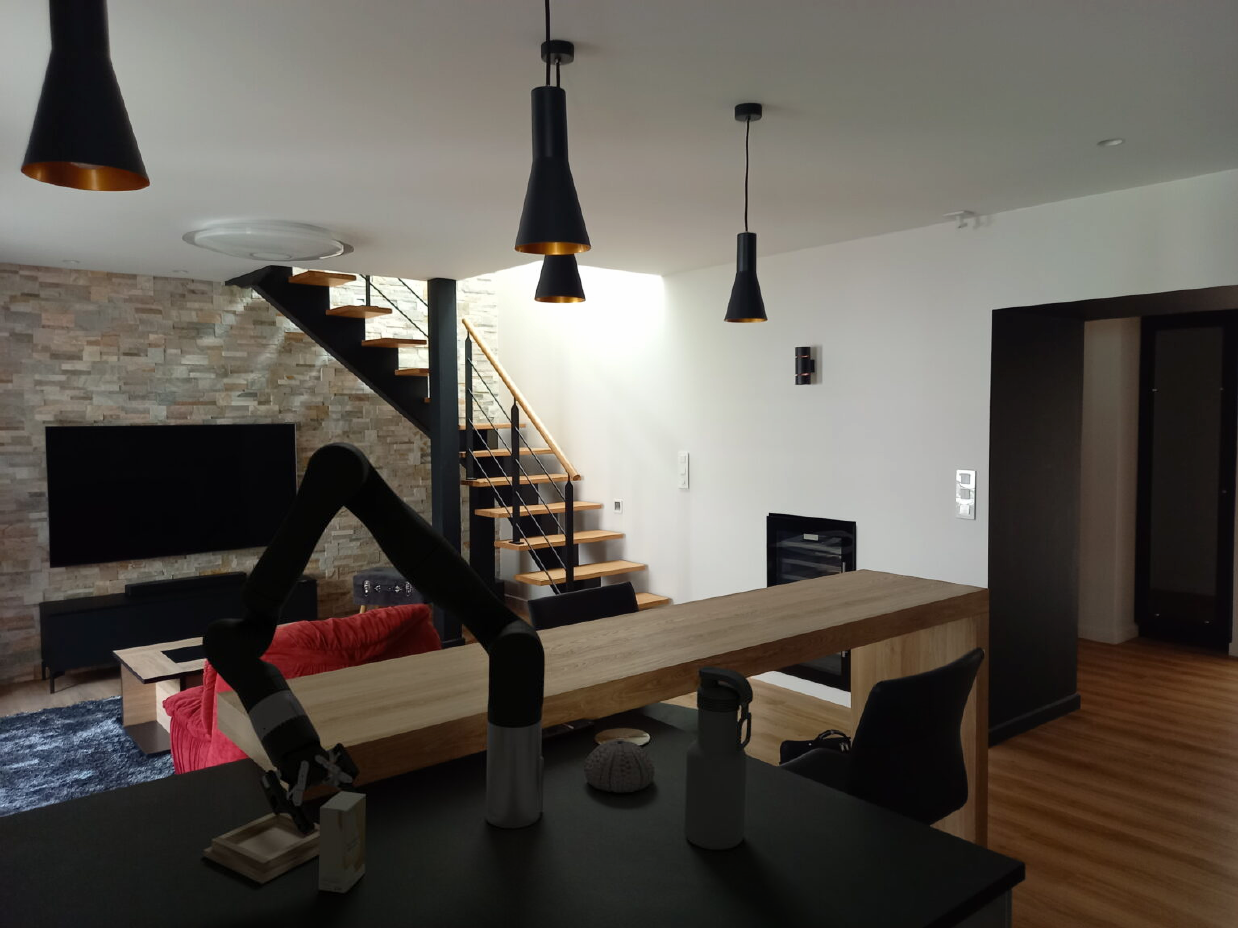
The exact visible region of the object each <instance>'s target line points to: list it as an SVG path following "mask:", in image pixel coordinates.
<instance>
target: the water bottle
mask: <svg viewBox="0 0 1238 928" xmlns="http://www.w3.org/2000/svg"><path fill="white" fill-rule="evenodd" d="M698 677H699V678H700V683H699V686H698V687H697V689H696V708H697V734H696V735H697V736H696V740H694V741H693V742H692V743H690V745H689V746H688V748H687V751H686V766H685V767H686V768H685V771H686V772H685V773H686V774H685V798H684V799H685V800H684V801H685V802H684V803H685V804H684V835H685V837H686V839H687V840H688V841H689V842H690V843H692V844H693V845H695V846H697V847H699V848H702V849H705V850H706V849H707V850H710V851H711V850H712V851H725V850H729V849H733V848H735V847H737V846H738V845H740V844H741V843H742V841H743V839H744V837H745V835H744V833H745V808H746V807H745V805H746V781H747V753H746V751H745V748H746V747H747V745H749V743H750V741H751V738H752V737H751V736H752V719H753V718H752V716H753V714H752V712H750V710H749V709H750V704H751V703H752V702H753V700H754V691H753V688H752V685H751V683H750V682H749V680H748V679H747V678H746V676H744V675H743V673H740V672H738V671H735V670H732V669H728V668H724V667H723V668H722V667H716V666H709V665H708V666H701V667H699V669H698ZM739 711H740V718H739ZM745 722H746V733H745V734H746V735H745V739H744V740H743V741H742V735H743V734H742V731H743V725H744V723H745Z"/></svg>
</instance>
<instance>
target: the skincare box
mask: <svg viewBox="0 0 1238 928" xmlns="http://www.w3.org/2000/svg"><path fill="white" fill-rule="evenodd" d="M366 795H367V794H365V793H358V792H357V793H352V792H344V791H339V792H337V794H335V795H334V796H332V797H331V798H330V799H329V800H328V801H327V802H326V803H324V804H322V806H320V808H319V825H320V841H319V856H318V860H319V861H318V863H319V864H318V890H319V891H320V890H321V891H326V892H332V893H334V892H335V893H341V894H345V893H347V892H348V891H349V890H350V889H351V888H352V887H353V886H354V885H355V884H356V883H357V882H358V881H359V880H360V878H362V876H364V874H365V872H366V815H367V814H366V808H367V807H366V805H367V803H366V802H367V801H366V800H367V798H366V797H367V796H366Z"/></svg>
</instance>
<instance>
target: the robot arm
mask: <svg viewBox="0 0 1238 928" xmlns="http://www.w3.org/2000/svg"><path fill="white" fill-rule="evenodd" d="M343 507H344V508H345V509H346V510H348V511H349V512H350V513H351V514H352V515H353V516H354V517H355V518H356V519H358V520H359V522H360V523H362V524H363V525H364V527H366V529H367V530H368V531H369V533H370V534H371V536H372V538H373V539H374V540H375V542H376V544H377V546H378V547H379V548H380V550H381V551H382V552H383V554H384V556H385V557H386V558H387V560H388V561H389V562H390V564H391V565H392V566H393V568H394V569H395V570H396V571H397V572H398V573H399V575H400V576H402V577H403V578H404V579H405V580H406V582H408V583H409V584H410V586H412V587H413V589H414V590H416V591H417V592H418V593H419V594H420V595H421V596H422V597H424V598H425V599H426V600H427V601H428V602H430V603H431V604H432V605H434V606H436V607H437V608H439V609H441V610H442V611H443V612H444V613H446V614H448V615H450V616H451V617H453V618H454V619H456V620H457V621H458V622H459V623H460V624H462V625H463V626H464V628H466V629H467V631H469V632H470V634H471V635H472V636H473V637H474V638H475V640H476V641H477V642H478V643H479V644H480V645H481V647H482V648H483V650H484V651H485V652H486V654H487V656H488V698H487V721H486V722H487V724H486V725H487V726H486V727H487V728H486V729H487V730H486V733H487V734H486V735H487V736H486V742H487V743H486V792H485V793H486V794H485V796H486V797H485V798H486V799H485V818H486V819H485V820H486V821H487V822H488V823H489V824H491V825H492V826H495V827H498V828H501V829H503V828H504V829H520V828H525V827H529V826H530V825H534V823H537V821H539V819H540V816H541V812H543V810H544V778H545V777H544V773H545V771H544V769H545V768H544V767H545V766H544V765H545V762H544V761H545V760H544V757H543V756H542V738H543V737H542V734H543V733H542V728H543V727H542V726H543V724H542V723H543V722H542V721H543V719H542V717H543V707H544V700H545V699H544V698H545V695H544V694H545V672H546V669H545V668H546V661H545V660H546V658H545V657H546V655H545V650H544V649H545V648H544V646H543V642H542V640H541V638H540V636H539V634H538V631H536V629H535V628H534V627H533V626H532V625H531V624H530V623H528V622H527V621H526V620H524V619H523V618H522V617H520V615H518V614H517V613H516V612H515V611H513V610H512V609H511V608H509V606H507V605H506V604H505V603H504V602H503V601H501V600H500V599H499V598H498V597H497V596H496V595H495V594H494V593H493V592H492V591H491V590H490V588H489V587H488V586H487V585H486V583H485V582H484V581H483V580H482V578H481V577H480V575H478V573H477V572H476V571H475V570H474V569H473V567H472V566H471V565H470V564H469V562H468V561H467V560H466V559H465V558H464V557H463V556H462V554H461V553H460V552H459V551H458V550H457V549H456V548H455V547H454V546H453V545H452V543H450V542H449V541H448V540H447V539H446V538H445V537H444V536H443V535H442V534H441V533H440V532H439V530H437V529H436V528H435V527H434V526H432V525H431V524H430V523H429V522H428V521H427V520H426V519H425V518H424V517H423V516H422V515H420V514H419V513H418V512H417V511H416V510H415V509H414V508H412V507H411V506H410V505H409V504H407V503H406V502H405V501H404V500H403V499H401V497H400V496H399V495H398V494H397V493H396V492H395V491H394V490H393V489H392V488H391V486H390V485H389V484H388V483H387V481H385V479H384V478H383V477H382V476H381V474H380V473H379V472H378V470H377V469H376V468H375V467H374V465H373V464H372V463H371V462H370V460H369V459H368V457H367V456H366V455H365V453H364V452H363V451H362V450H361V449H360V448H358V446H355V445H354V444H350V443H349V442H343V441H342V442H341V441H339V442H338V441H337V442H332V443H329V444H325V445H323V446H321V447H320V448H318V449H317V450H315V451H314V452H313V453H312V454H311V456H310V458H309V459H308V462H307V466H306V469H305V472H304V474H303V477H302V479H301V482H300V485H299V487H298V490H297V493H296V495H295V498H294V500H293V502H292V504H291V506H290V508H289V510H288V512H287V514H286V515H285V518H284V519H283V522H282V523H281V525H280V526H279V528H278V530H277V531H276V533H275V534H274V536H273V537H272V539H271V540H270V542H269V543H268V545H267V546H266V548H265V549H264V551H263V553H262V554H261V556H260V558H259V559H258V561H257V563H256V564H255V565H254V567H253V568H252V570H251V572H250V574H249V576H248V577H247V578H246V580H245V582H244V584H243V586H242V588H241V590H240V592H239V597H238V598H239V600H240V603H241V604H242V605H243V606H244V607H245V608H246V609H245V612H244V615H243V616H242V617H241V618H220V619H217V620H214V621H213V622H210V624H208V626H206V628H205V630H204V633H203V635H202V642H201V643H202V644H201V646H202V651H203V654H204V656H205V658H206V660H207V662H208V663H209V665H210V666H211V668H213V670H214V671H215V672H216V673H217V674H218V675H219V676H220V678H221V679H223V681H224V682H225V683H226V684H227V685H228V686H229V687H230V688H231V689H232V690H233V691H234V692H235V694H236V695H237V697H238V699H239V701H240V703H241V705H242V706H243V709H244V710H245V712H246V715H248V718H249V720H250V721H249V722H250V724H251V726H252V729H253V731H254V733H255V735H256V737H257V738H258V740H259V743H260V744H261V746H262V748H263V750H264V753H265V754H266V756H267V757H268V759H269V762H270V764H271V765H272V766H273V767H274V768H276V770H273V769H269V770H268V771H266V773H265V774H264V775H262V778H261V779H259V785H260V786H261V788H262V791H263V792H264V795H265V797H266V800H267V801H268V804H269V806H270V808H271V811H272V813H274V814H275V815H280V814H281V813H287V814H290V816H291V817H292V819H293V821H294V823H295V825H296V826H297V829H298V830H299V831H300V832H301V833H302V832H303V834H304V835H307V834H309V833H311V832H312V831H313V830H314V829H315V825H314V823H315V822H314V820H313V819H312V818H311V815H310V814H309V812H308V810H307V808H306V806H305V804H302V801H303V793H304V792H306V791H307V790H309V789H310V788H312V787H317V786H319V785H321V784H323V785H324V786H328V787H329V786H331V787H333V788H335V789H337V790H338V791H339V792H341V791H344V792H352V793H358V791H357V789H356V787H355V786H354V784H353V783H354V780H355V779H356V778H357V777H358V776H359V775H360V770H359V768H358V767H357V765H356V763H355V762H354V760H353V759H352V757H351V756H350V754H349V752H348V751H347V749H346V747H345V746H344V744H342V743H341V742H337V744H336V745H334V747H332V748H330V749H328V750H326V749H325V748H324V747H323V746H322V744H321V737H320V735H319V733H318V731H317V730H316V728H315V726H314V725H313V723H312V721H311V719H310V717H309V716H308V713H307V712H306V710H305V709H304V707H303V704H302V703H301V702H300V701H299V699H298V698H297V697H296V695H295V694H294V693H293V691H292V689H291V687H290V686H289V684H288V682H287V680H286V678H285V677H284V675H283V673H282V671H281V670H280V668H278V666H277V665H276V664H273V663H271V662H268V661H266V660H263V659H262V656H264V655H265V654H266V652H267V651H268V650H269V648H270V647H271V645H272V643H273V640H274V638H275V634H276V631H277V629H278V625H279V623H280V618H281V614H282V610H283V608H284V606H285V605H286V603H287V601H288V600H289V598H290V597H291V595H292V593H293V591H294V590H295V588H296V586H297V584H298V583H299V581H300V580H301V577H302V575H303V574H304V572H305V570H306V568H307V566H308V564H309V561H310V559H311V557H312V556H313V553H314V551H315V549H316V547H317V545H318V543H319V541H320V539H321V537H322V536H323V534H324V532H325V531H326V529H327V528H328V526H329V525H330V523H331V522H332V521H333V519H334V518H335V517H336V515H338V513H339V512H340V510H341V509H342V508H343ZM328 773H330V774H329V775H328ZM281 782H283V783H285V784H287V791H286V793H285V791H284V788H283V786H282V784H281Z"/></svg>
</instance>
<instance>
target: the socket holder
mask: <svg viewBox="0 0 1238 928" xmlns="http://www.w3.org/2000/svg"><path fill="white" fill-rule="evenodd" d="M313 823H314V825H315V829H314V830H313V831H312V832H311V833H309V834H307V835H304V834H303V832H302V833H301V832H300V831H299V830H298V829H297V826H296V825H295V823H294V821H293V819H292V817H291V816H290V814H287V813H281V814H280V815H275V814H274V813H273V812H271V813H269V814H267V815H265V816H262V817H259V818H258V819H255V820H253V821H251V822H249V823H246V824H243V825H242V826H240V827H238V828H235V829H233V830H230V831H228V832H226V833H224V834H221V835H219V836H218V837H217V836H216V837H215V838H213V839H211V846H209V847H207V848H205V849H203V857H205V858H207V859H210V860H211V861H213V862H216V863H217V864H219V865H222V866H223V867H226V868H228V869H230V870H232V871H234V872H236V873H238V874H240V875H242V876H245V877H247V878H249V879H251V880H253V881H255V882H257V883H259V884H265V883H267V882H268V881H271V880H272V879H274V878H277V877H278V876H280V875H282V874H284V873H286V872H288V871H290V870H292V869H293V868H295V867H298V866H300V865H302V864H304V863H305V862H307V861H309V860H311V859H313V858H314V857H316V856H318V855H319V841H320V824H318V823H316V822H313Z"/></svg>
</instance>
